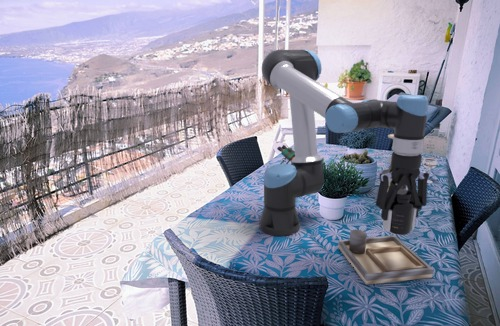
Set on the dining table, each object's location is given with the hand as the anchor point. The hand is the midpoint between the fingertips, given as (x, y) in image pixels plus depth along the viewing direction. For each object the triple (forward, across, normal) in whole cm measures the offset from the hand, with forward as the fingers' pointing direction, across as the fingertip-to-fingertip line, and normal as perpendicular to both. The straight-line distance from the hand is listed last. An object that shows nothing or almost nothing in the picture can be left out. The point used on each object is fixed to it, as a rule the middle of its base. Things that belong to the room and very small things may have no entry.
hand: (398, 228), depth 98 cm
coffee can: (+12, +24, +44) cm, 52 cm away
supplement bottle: (+1, 0, 0) cm, 1 cm away
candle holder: (+12, +41, +71) cm, 83 cm away
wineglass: (+12, +57, +67) cm, 89 cm away
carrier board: (+12, -3, +3) cm, 13 cm away
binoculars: (+12, -8, +97) cm, 98 cm away
